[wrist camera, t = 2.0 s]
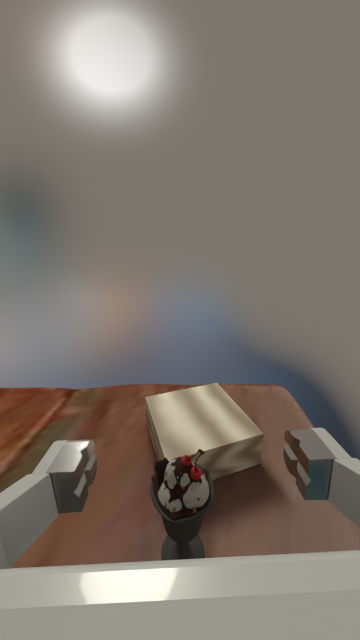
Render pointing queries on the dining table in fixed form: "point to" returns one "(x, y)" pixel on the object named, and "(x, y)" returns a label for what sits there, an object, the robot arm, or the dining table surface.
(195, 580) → the robot arm
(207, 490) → the sundae
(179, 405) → the cream block
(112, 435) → the dining table surface
